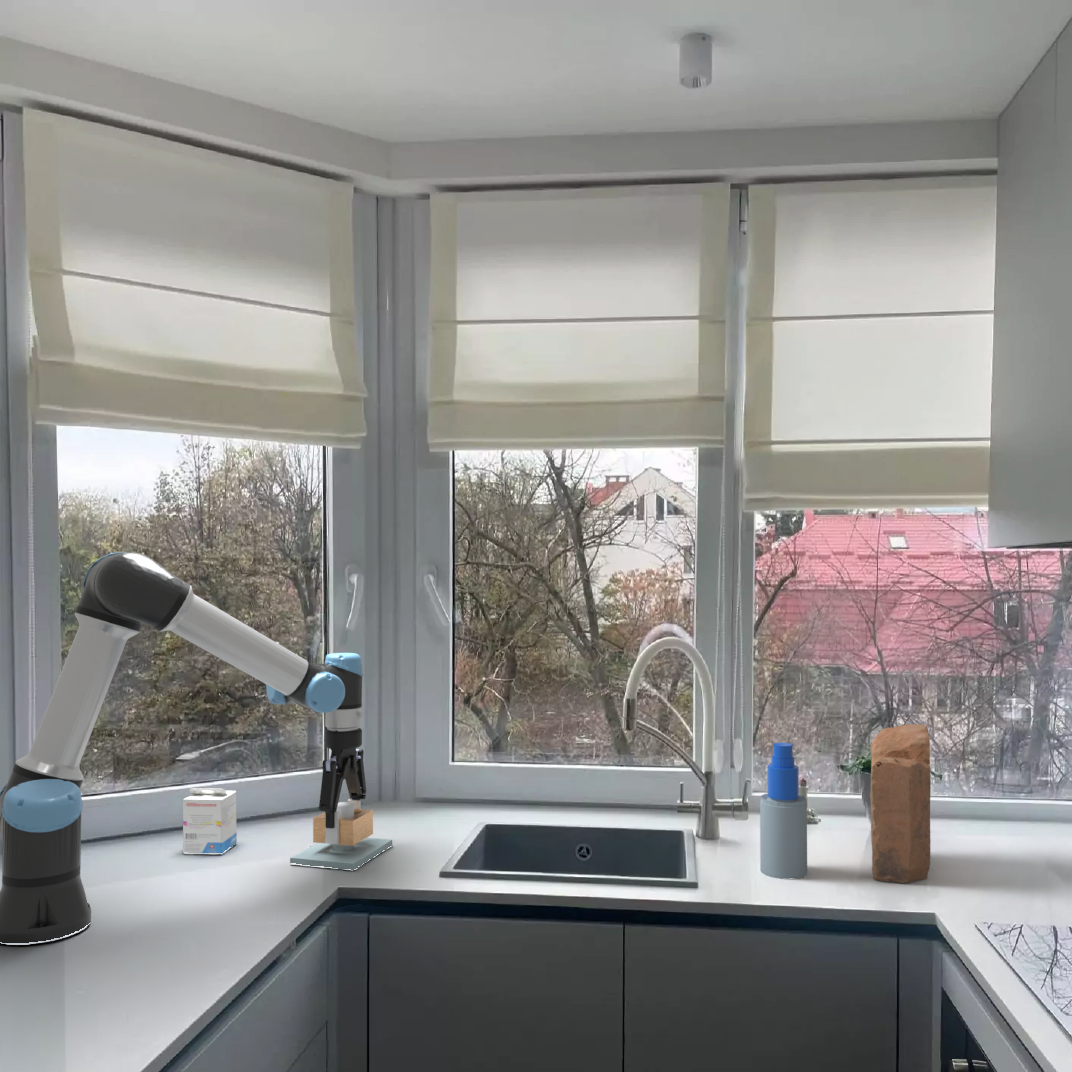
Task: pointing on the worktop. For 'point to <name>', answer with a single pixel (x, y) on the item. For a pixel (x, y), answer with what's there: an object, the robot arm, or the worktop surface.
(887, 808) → the stone
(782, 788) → the spray bottle
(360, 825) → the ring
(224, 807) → the ink box
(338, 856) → the post stand
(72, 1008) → the worktop surface
